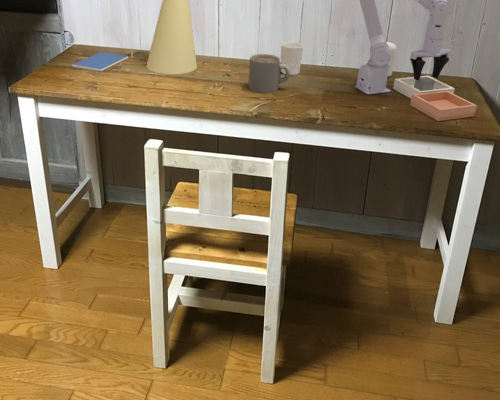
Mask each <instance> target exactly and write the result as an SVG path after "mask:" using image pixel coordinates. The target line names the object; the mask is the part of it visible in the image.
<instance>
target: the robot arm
mask: <svg viewBox="0 0 500 400" xmlns="http://www.w3.org/2000/svg"><path fill="white" fill-rule="evenodd" d="M415 1H416V2H417V3H418V4H419V5H420V6H422V8H424V9H425V10H426V11H429V17H428V21H427V23H426V24H427V25H426V30H425V34H424V39H423V45H422V49H419V50H415V51H411V52H410V57H409V58H410V60H409V61H410V63H411V65H412V70H413V71H412V72H413V77H414V79H415V80H419V79H420V76H422V72H423V68H424V66H425V65H426V61H425V60H424V59H428V58H433V67H432V68H433V69H432V74H431V75H432V76H431V77H432V78H434V79H439V76H440V74H441V72H442V70H443V68H444V67H445V65H446V64H448V62H450V56H451V52H452V51H451V49H448V48H442V46H443V41H444V38H445V32H446V27H447V20H448V17H449V16H450V15H451V12H452V10H451V5H450V3H449V1H447V0H415ZM359 3H360V8H361V11H362V15H363V19H364V23H365V27H366V30H367V33H368V38H369V42H370V47H369V52H370V53H369V55H370V54H371V58H370V57H369V59H368V61H367V63H366V64H362V65H361V66H360V67H359V69H358V73H357V74H358V75H357V81H356V85H355V89H358V90H359V91H361V92H363V93H364V94H366V95H374V94H383V93H390V92H392V90H390V89H389V88H387V83H388V77H389V76H388V71H389V65H390V63H389V62H390V60H391V52H390V51H389V46H388V44H387V43H386V42H387V41H386V40H385V37H384V33H383V30H382V26H381V22H380V21H381V20H380V18H379V13H378V10H377V5H376V1H375V0H359Z"/></svg>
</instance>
